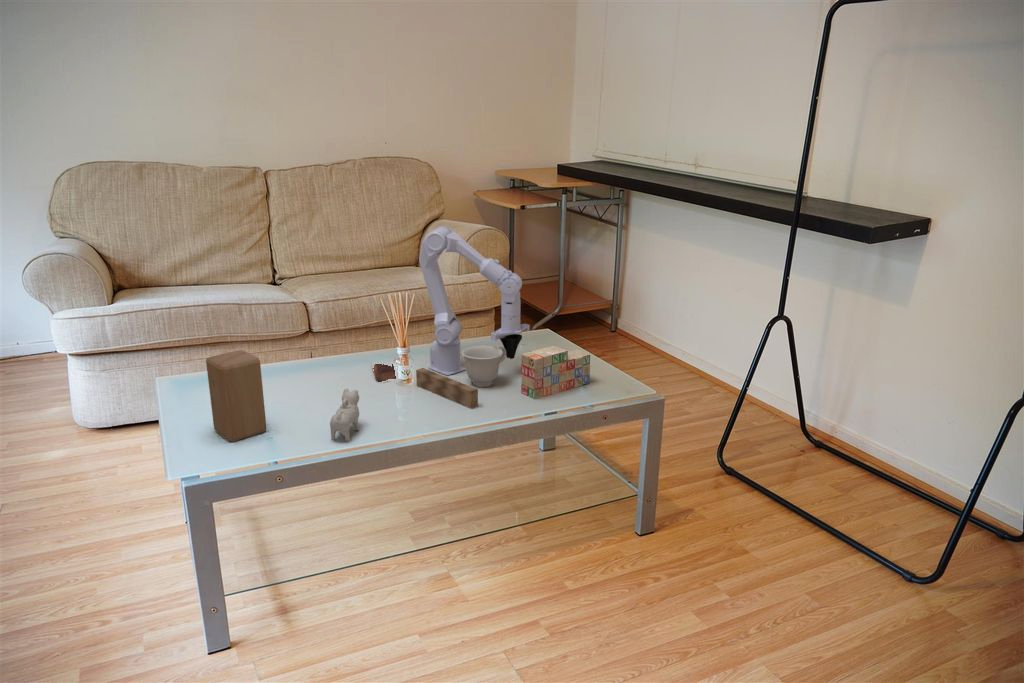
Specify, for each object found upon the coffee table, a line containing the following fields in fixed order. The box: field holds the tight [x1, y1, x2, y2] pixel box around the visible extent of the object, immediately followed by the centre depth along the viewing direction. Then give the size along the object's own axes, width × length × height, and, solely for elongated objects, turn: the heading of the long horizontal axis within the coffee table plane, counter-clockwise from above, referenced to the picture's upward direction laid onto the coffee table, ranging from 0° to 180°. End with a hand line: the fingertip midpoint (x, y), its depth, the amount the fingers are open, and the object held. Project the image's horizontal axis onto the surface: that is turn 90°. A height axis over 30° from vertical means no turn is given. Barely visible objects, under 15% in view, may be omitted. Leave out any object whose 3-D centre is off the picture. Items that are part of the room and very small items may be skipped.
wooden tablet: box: [372, 364, 396, 383], centre depth 244 cm, size 26×2×10 cm
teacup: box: [461, 345, 507, 388], centre depth 230 cm, size 12×15×10 cm
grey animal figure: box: [329, 388, 361, 443], centre depth 195 cm, size 5×13×11 cm, turn 171°
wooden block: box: [205, 349, 267, 442], centre depth 194 cm, size 10×10×20 cm
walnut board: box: [415, 367, 479, 410], centre depth 220 cm, size 24×2×5 cm, turn 45°
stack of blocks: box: [520, 345, 591, 400], centre depth 226 cm, size 21×6×12 cm, turn 128°
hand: (510, 357), depth 237 cm, fingers closed
